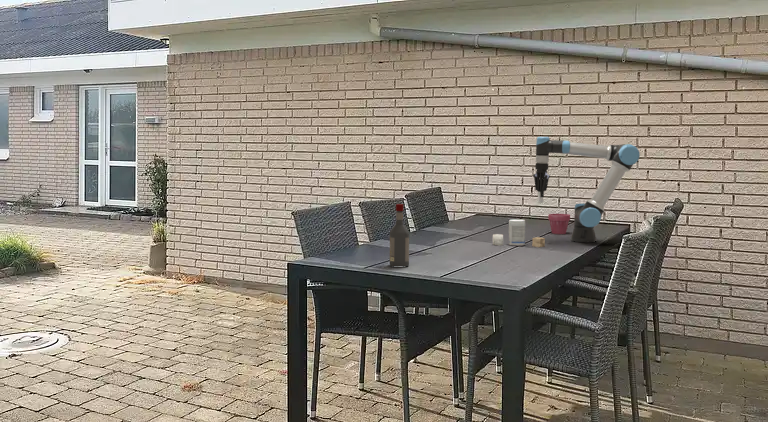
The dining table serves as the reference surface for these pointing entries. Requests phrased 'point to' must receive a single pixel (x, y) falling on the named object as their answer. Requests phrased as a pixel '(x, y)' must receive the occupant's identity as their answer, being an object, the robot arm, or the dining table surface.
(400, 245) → the liquor
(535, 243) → the oak block
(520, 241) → the supplement tub
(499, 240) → the white cube
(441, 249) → the dining table surface
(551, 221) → the plant pot
